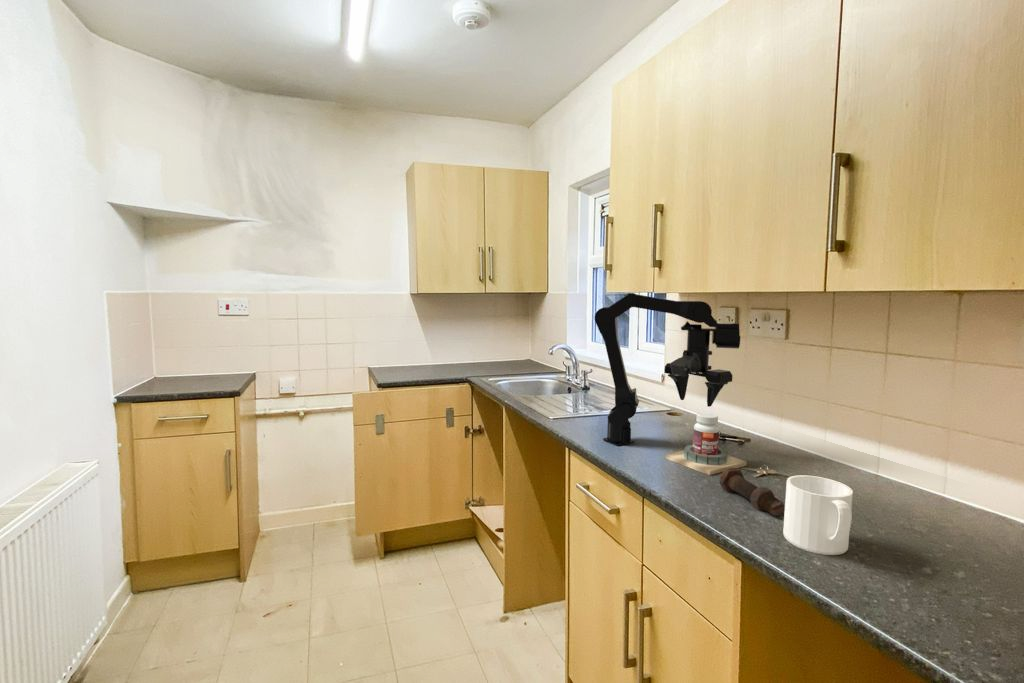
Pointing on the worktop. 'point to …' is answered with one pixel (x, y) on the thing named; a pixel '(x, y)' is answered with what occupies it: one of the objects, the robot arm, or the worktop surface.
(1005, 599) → the worktop surface
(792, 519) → the mug
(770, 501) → the bolt
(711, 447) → the pill bottle
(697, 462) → the socket
